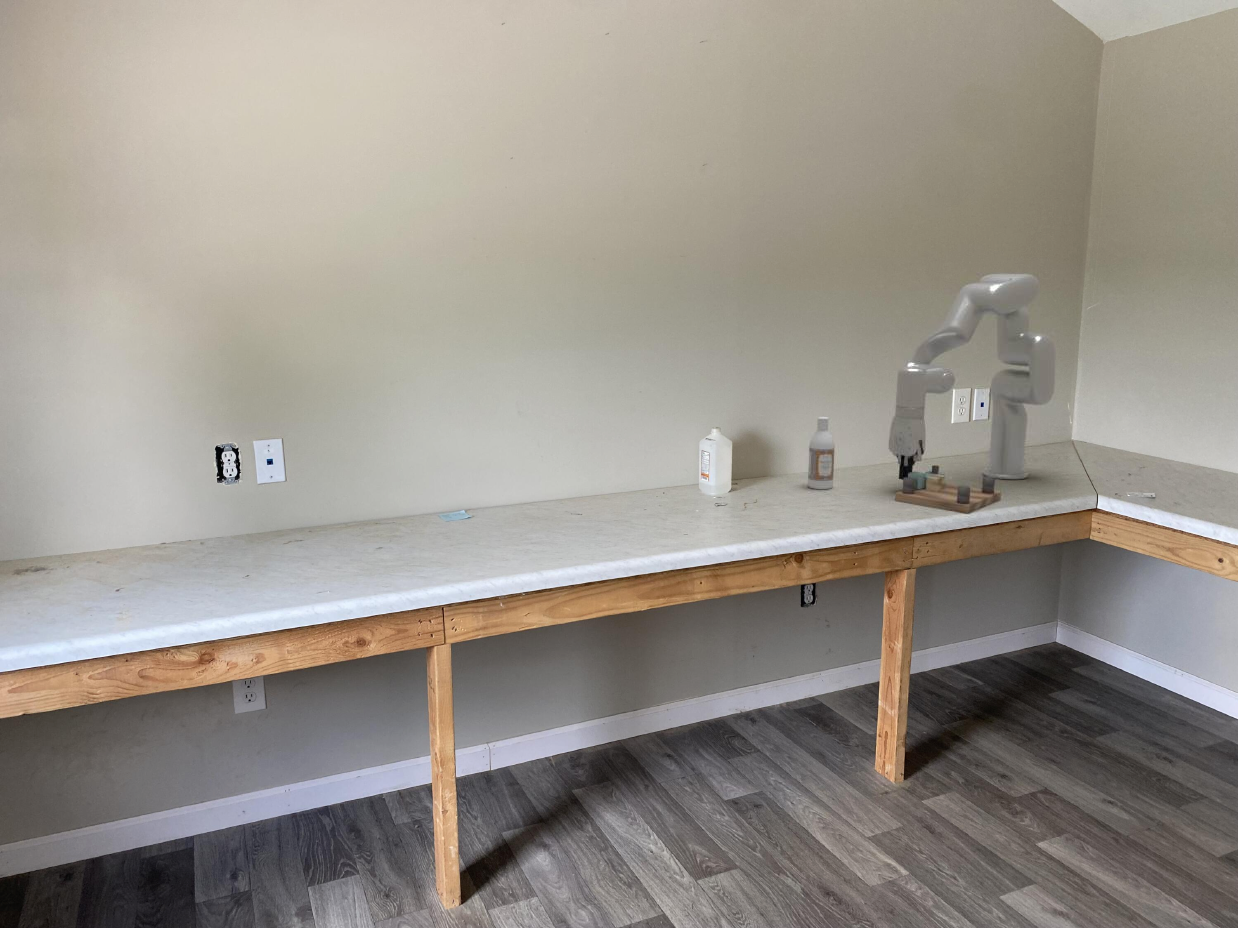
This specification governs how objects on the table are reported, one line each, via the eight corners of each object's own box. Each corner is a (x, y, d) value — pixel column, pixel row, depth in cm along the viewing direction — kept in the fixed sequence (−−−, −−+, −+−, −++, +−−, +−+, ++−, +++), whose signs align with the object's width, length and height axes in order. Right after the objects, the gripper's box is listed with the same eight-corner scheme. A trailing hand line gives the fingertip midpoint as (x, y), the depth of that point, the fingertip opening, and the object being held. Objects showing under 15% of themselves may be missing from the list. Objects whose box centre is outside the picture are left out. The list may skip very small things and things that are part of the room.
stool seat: (929, 487, 258) (931, 463, 256) (1000, 499, 244) (1002, 473, 243) (894, 500, 244) (896, 474, 242) (967, 513, 230) (969, 486, 229)
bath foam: (812, 490, 256) (815, 419, 252) (804, 484, 263) (806, 416, 258) (836, 489, 257) (839, 419, 253) (827, 483, 264) (830, 415, 259)
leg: (929, 480, 256) (930, 466, 255) (944, 483, 253) (945, 469, 252) (905, 487, 249) (906, 472, 248) (919, 489, 246) (920, 475, 245)
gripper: (880, 410, 253) (876, 475, 256) (917, 417, 239) (912, 486, 243) (902, 408, 255) (898, 473, 259) (939, 416, 242) (934, 483, 245)
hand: (905, 479), depth 251 cm, fingers closed
